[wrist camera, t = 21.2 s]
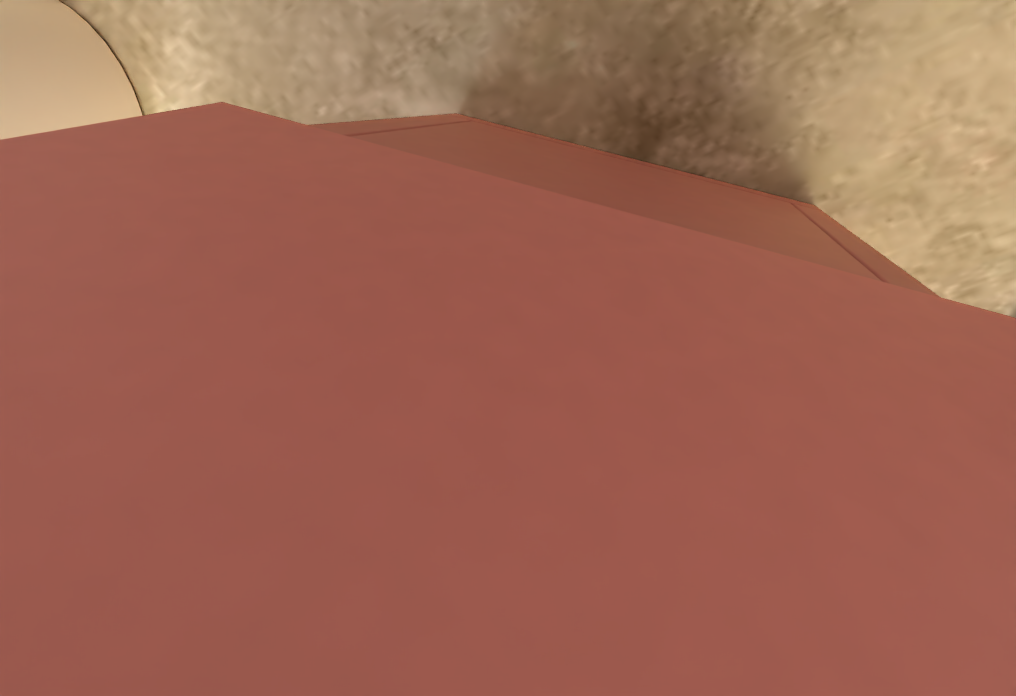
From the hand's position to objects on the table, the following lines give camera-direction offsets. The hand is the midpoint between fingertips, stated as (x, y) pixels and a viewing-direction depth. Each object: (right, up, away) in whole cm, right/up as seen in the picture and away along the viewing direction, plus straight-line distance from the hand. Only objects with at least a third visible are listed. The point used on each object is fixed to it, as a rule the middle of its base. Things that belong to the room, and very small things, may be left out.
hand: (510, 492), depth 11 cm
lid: (-1, +1, -9) cm, 9 cm away
